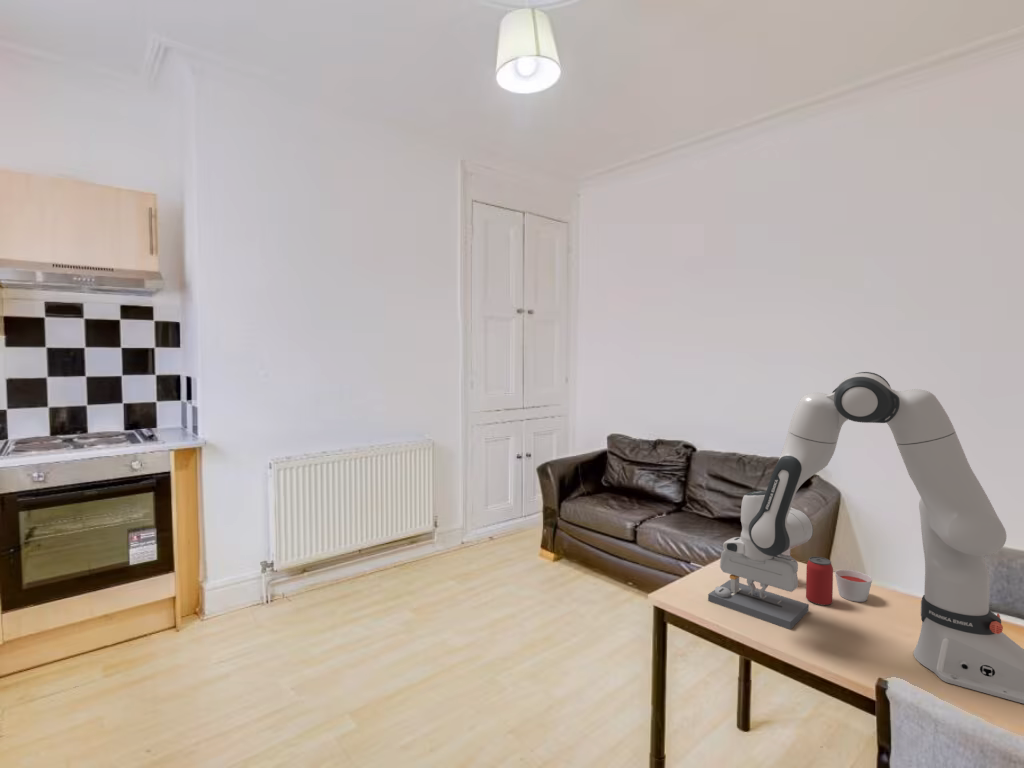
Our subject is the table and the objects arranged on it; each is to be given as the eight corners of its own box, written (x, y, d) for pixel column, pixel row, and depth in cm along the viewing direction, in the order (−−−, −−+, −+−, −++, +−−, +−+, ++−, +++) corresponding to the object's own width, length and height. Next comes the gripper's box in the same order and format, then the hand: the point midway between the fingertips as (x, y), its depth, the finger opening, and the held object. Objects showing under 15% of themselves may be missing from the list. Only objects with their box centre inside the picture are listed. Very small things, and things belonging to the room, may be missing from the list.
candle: (829, 589, 156) (829, 568, 155) (861, 591, 154) (862, 570, 154) (843, 603, 147) (844, 581, 147) (878, 605, 145) (878, 583, 145)
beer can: (825, 596, 151) (826, 556, 151) (837, 606, 145) (838, 564, 144) (801, 595, 152) (802, 555, 151) (812, 605, 145) (813, 564, 145)
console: (808, 611, 142) (808, 598, 142) (790, 629, 132) (790, 615, 132) (729, 586, 158) (729, 574, 158) (708, 600, 148) (708, 588, 148)
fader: (740, 589, 150) (740, 573, 150) (734, 593, 148) (735, 577, 148) (734, 587, 152) (735, 572, 151) (729, 591, 149) (729, 575, 149)
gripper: (801, 554, 139) (801, 604, 140) (727, 536, 154) (727, 582, 155) (793, 561, 135) (793, 612, 136) (717, 541, 150) (717, 588, 150)
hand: (757, 596), depth 145 cm, fingers closed
